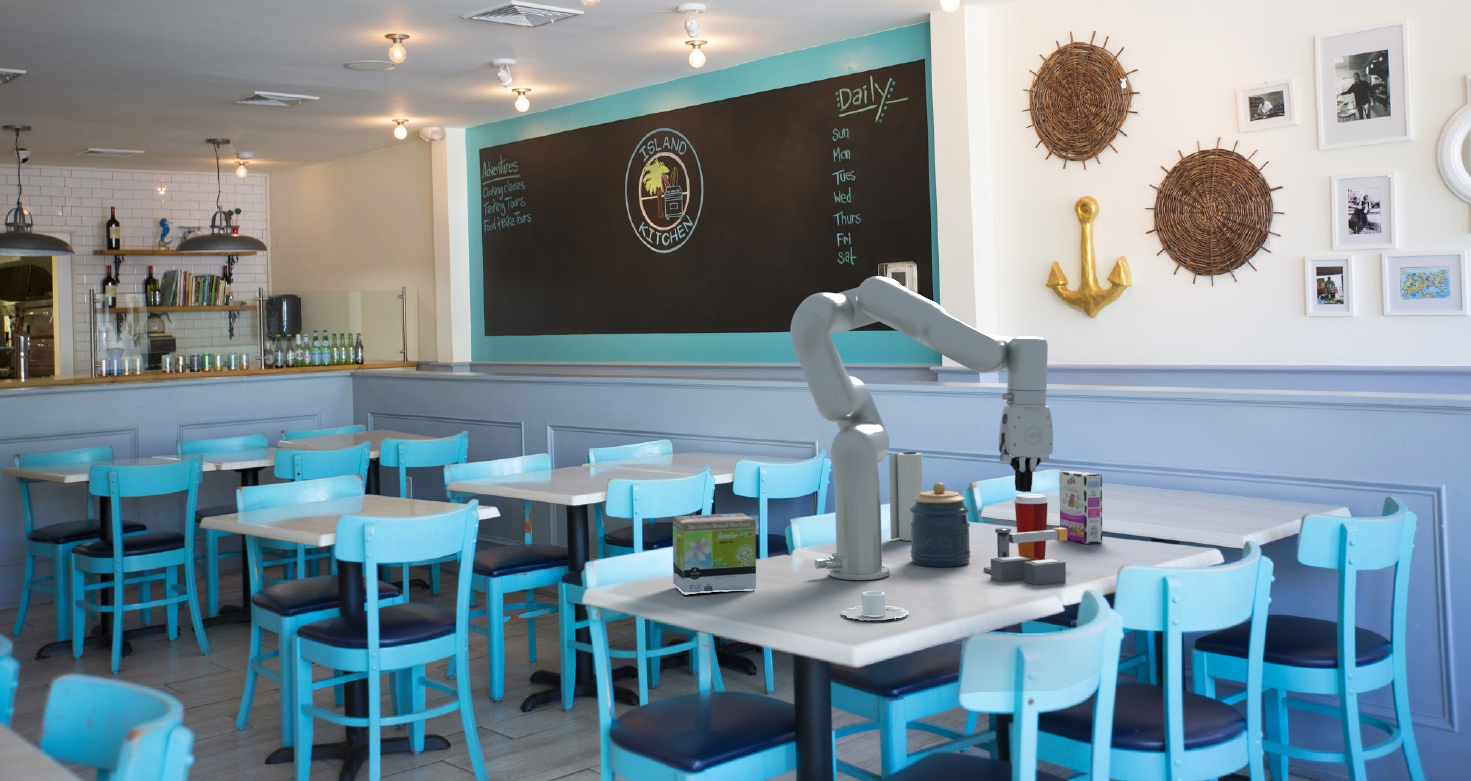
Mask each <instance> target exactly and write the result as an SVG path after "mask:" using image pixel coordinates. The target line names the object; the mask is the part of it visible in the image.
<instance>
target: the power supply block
mask: <svg viewBox="0 0 1471 781" xmlns="http://www.w3.org/2000/svg"><path fill="white" fill-rule="evenodd" d="M1066 563H1067V562H1066V561H1063V560H1059V559H1055V558H1051V559H1050V558H1047V559H1046V558H1045V559H1044V560H1036V561H1029V562H1024V579H1023V580H1024V581H1023V582H1024V583H1027V584H1029V585H1033V584H1034V585H1033V586H1040V585H1039V584H1044V585H1051V584H1060V583H1067V577H1066V576H1067V574H1066V573H1067V572H1066V571H1067V570H1066V569H1067V568H1066V565H1067V564H1066Z"/></svg>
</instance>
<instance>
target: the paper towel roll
mask: <svg viewBox="0 0 1471 781" xmlns="http://www.w3.org/2000/svg"><path fill="white" fill-rule="evenodd" d="M888 469H889V470H888V475H889V476H888V477H889V480H888V481H889V518H890V519H889V521H890V522H889V523H890V540H896V539H899V540H900V541H907V542H908V541H909V542H911V526H910V523H911V522H912V513H911V511H910V508H911V507H913V506H914V505H915V503H916V501H914V500H913V499H914V498H915V497H916V496H918V495H919V494H920V493H921V492H924V486H923V485H924V481H923V480H924V477H923V476H924V475H923V472H924V471H923V469H924V468H923V453H922V452H914V451H912V452H911V451H908V452H905V451H904V452H899V453H892V454H888Z"/></svg>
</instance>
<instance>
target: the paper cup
mask: <svg viewBox="0 0 1471 781" xmlns="http://www.w3.org/2000/svg"><path fill="white" fill-rule="evenodd" d="M1012 503H1014V509H1015V510H1014V512H1015V523H1016V524H1015V525H1016V533H1021V532H1032V531H1044V530H1048V529H1047V526H1048V525H1047V523H1048V503H1050V500H1048V497H1047V495H1045V494H1043V493H1018V494H1016V495H1015V497H1014V498H1013V500H1012ZM1046 548H1047V540H1045V541H1034V542H1023V543H1017V549H1018V556H1022V557H1026V558H1029V559H1031V561H1036V560H1046Z"/></svg>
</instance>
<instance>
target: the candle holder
mask: <svg viewBox="0 0 1471 781" xmlns="http://www.w3.org/2000/svg"><path fill="white" fill-rule="evenodd" d="M853 607H854V608H852V607H849V608H847V609H855V608H856V607H862V611H861V614H862V613H863V614H864V615H882V614H885V613H886V611H887V610H885V607H893V609H902V610H901V611H900V612H906V613H904V614H902V615H903V616H900V617H899V615H897V616H898V617H897V616H893V617H894V618H895V619H894V620H897V619H896V618H899V619H902V618H905V617H907V616H908V615H909V611H908V609H905V608H903V607H900V606H899V607H897V606H894V605H892V606H891V605H886V593H885V592H884V591H880V590H868V591H863V592H862V593H861V605H859V606H853ZM857 609H858V608H857ZM842 612H845V611H843V610H842V611H841V613H842ZM846 612H847V611H846ZM886 614H887V613H886ZM886 614H885V615H886ZM841 615H842V616H843V615H844V614H841ZM906 615H907V616H906ZM854 617H855V616H854ZM854 617H848V616H847V617H846V618H847V619H850V618H854ZM869 619H870V618H864V619H859V620H858V621H864V620H868V621H867V622H870V621H869Z"/></svg>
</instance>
